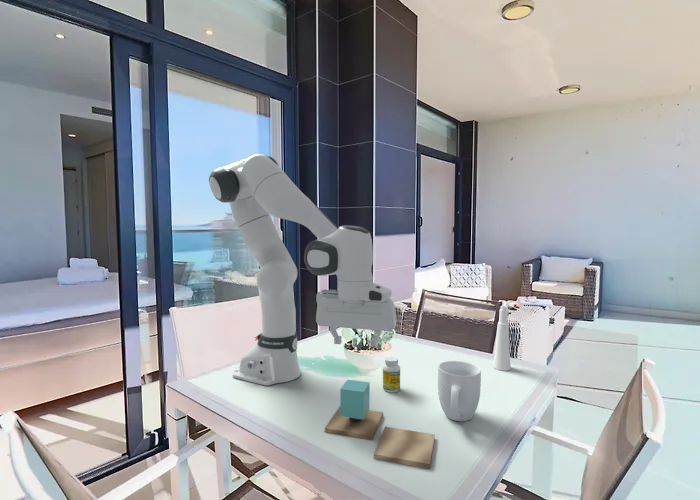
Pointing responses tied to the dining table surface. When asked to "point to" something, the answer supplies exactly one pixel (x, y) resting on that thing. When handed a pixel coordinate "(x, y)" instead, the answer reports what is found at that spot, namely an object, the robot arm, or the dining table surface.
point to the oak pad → (405, 447)
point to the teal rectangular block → (354, 399)
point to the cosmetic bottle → (502, 342)
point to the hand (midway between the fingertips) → (355, 345)
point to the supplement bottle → (391, 375)
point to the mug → (459, 389)
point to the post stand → (355, 425)
